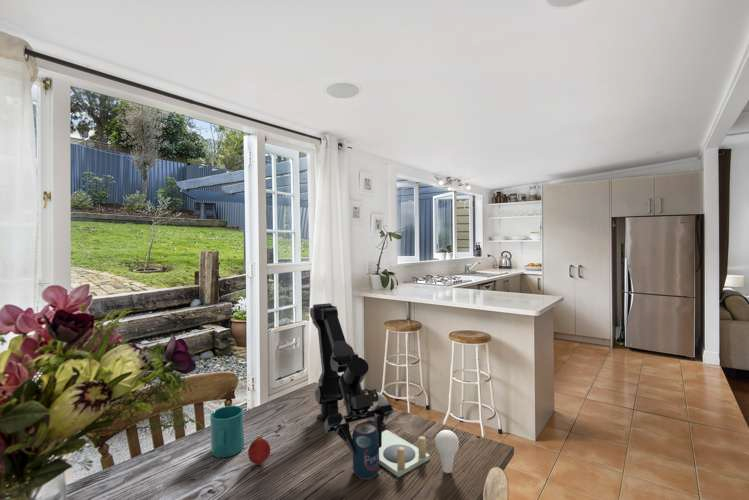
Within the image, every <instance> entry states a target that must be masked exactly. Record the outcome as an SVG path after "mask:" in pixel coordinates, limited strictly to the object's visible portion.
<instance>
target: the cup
mask: <svg viewBox="0 0 749 500" xmlns="http://www.w3.org/2000/svg"><path fill="white" fill-rule="evenodd" d="M243 408H244V407H242V406H238V405H228V406H221V407H219V408H216V409H215V410H213V411H212V412H211V413H210V416H209V417H210V420H209V421H210V422H209V423H210V445H211V449H210V450H211V454H212V456H214V457H216V458H220V457H221V458H222V459H223V458H224V457H225V458H229V457H233V456H235V455H238V454H239V453H240V452H241V451H242V450H244V446H245V427H244V426H245V425H244V423H245V422H244V409H243ZM221 458H220V459H221ZM225 458H224V459H225Z"/></svg>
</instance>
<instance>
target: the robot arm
mask: <svg viewBox="0 0 749 500" xmlns="http://www.w3.org/2000/svg"><path fill="white" fill-rule="evenodd" d="M309 315H310V318H311V322H312V324H313V325H314V326H315V328H316V329H317V335H318V343H319V344H318V345H319V354H320V355H319V356H320V363H321V364H320V365H321V374H320V376H319V378H318V382H317V383H318V386H317V388H316V390H315V392H314V396H315V402H317V404H318V405H320V414H317V415H316V417H317V418H318V419H319V420H320V421H322V422H323V428H324V433H325V434H329V433H333V434H334V435H338V436H339V437H340V438H341V439H342V442H344V443H345V445H346V446H347V447H348V449H349V450H350V452H351V453H352V455H353V454H356V451H355V446H354V443H353V437H352V435H351V430H350V424H351V423H355V422H361V421H364V420H366V419H370V418H373V421H374V422H373V421H372V422H371V423H372V424H374V425H375V426H376V429H377V431H378V433H379V448H381V446H382V432H383V423H384V421H385V420H388V419H390V417H391V416H392V414H393V413H394V408H393V406H392V404H391V403H389V402H388V403H384V404H379V405H378V404H377V405H376V407H374V403H376V402H375V401H378V400H379V398H378V393H377V392H378V391H377V389H376V388H373V389H369V390H368V391H367V393H368V394H367V393H365V390H364V389H363V388H362V385H361V383H362V382H363V380H364V379H365V377H366V376H367V373H368V372H369V362H367V361H366V360H365V359H364V358H363V357H359V354H358V353H355V351H354V348H353V347H352V346H351V345H350V344H348V342H347V341H346V338H345V335H344V331H343V329H342V325H341V323H340V322H341V321H340V320H339V311H338V308H337V306H336V305H332V303H330V302H328V303H318V304H317V303H316V304H313V306H312V307H310V309H309ZM340 373H342V374H341V375H340ZM365 394H366V395H365ZM339 401H342V403H343V406H345V410H346V414H347V415H344V416H343V415H342V413H341V412H339ZM372 407H374V409H371V408H372ZM368 409H370V410H371V411H368ZM362 416H363V417H362Z"/></svg>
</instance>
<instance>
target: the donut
mask: <svg viewBox="0 0 749 500" xmlns="http://www.w3.org/2000/svg"><path fill="white" fill-rule="evenodd" d="M377 393H378V398H379V400H378V401H375V402H374V403H375V404H377V405H379V404H384V403H389V402H388V400H387V398H386V396H385V395H383V393H381V392H379V391H377ZM366 394H368V392H367V393H365V395H366ZM371 410H372V409H371V408H370V409H368V411H371ZM362 417H363V416H362ZM365 420H367V421H369V422H372V423H373V422H374V421H373V418H370V419H365Z"/></svg>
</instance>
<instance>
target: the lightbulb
mask: <svg viewBox="0 0 749 500" xmlns="http://www.w3.org/2000/svg"><path fill="white" fill-rule="evenodd" d="M434 445H435V447H436V450H437V452H438V453H439V457H440V462H441V467H442V468H441V469H442V471H443V472H444V473H446V474H450V473H452V471H453V467H454V466H453V464H454V459H455V456H456V454H457V452H458V450H459V448H460V441H459V438H458V436H457V435H456V434H455V432H453V431H451V430H449V429H443V430H441V431H439V432H438V433H437V434H436V436H435V439H434Z"/></svg>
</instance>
